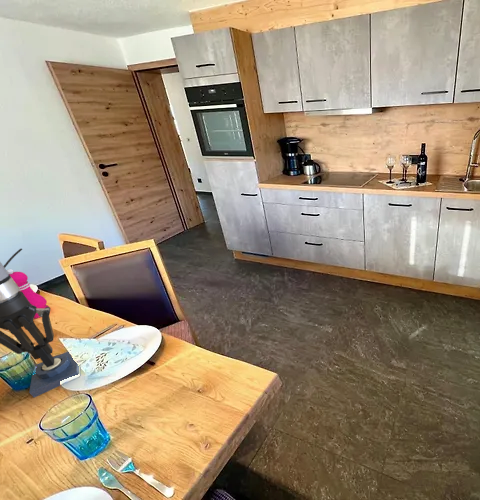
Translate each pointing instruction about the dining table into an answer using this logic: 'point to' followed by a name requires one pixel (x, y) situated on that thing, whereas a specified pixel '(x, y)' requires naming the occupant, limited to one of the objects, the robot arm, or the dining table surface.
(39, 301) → the pepper mill
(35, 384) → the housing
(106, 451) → the dining table surface
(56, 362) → the beige round button
